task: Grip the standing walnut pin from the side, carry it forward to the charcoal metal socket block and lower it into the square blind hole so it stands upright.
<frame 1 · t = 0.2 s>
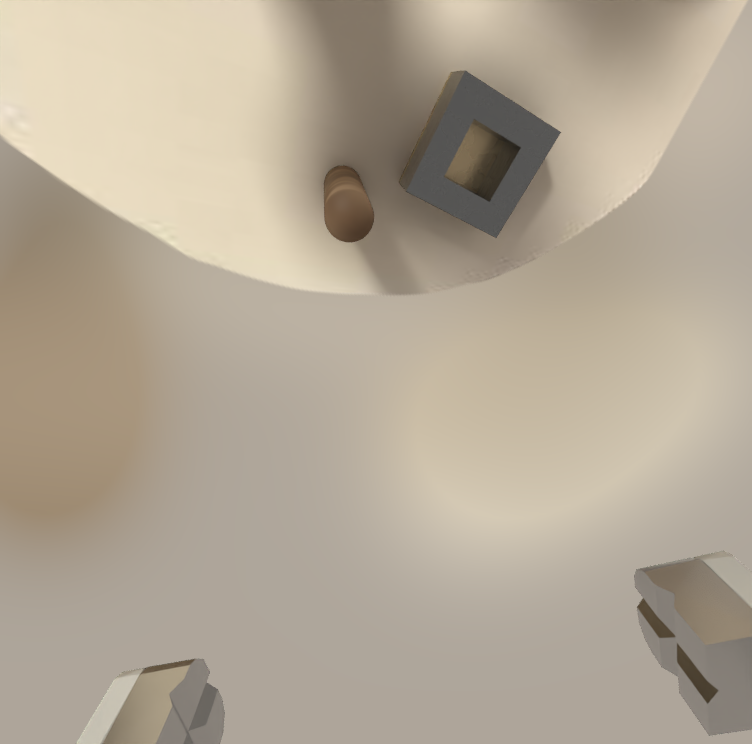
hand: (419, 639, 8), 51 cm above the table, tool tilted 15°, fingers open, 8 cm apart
walnut pin: (342, 186, 52), on the table
socket block: (467, 155, 51), on the table
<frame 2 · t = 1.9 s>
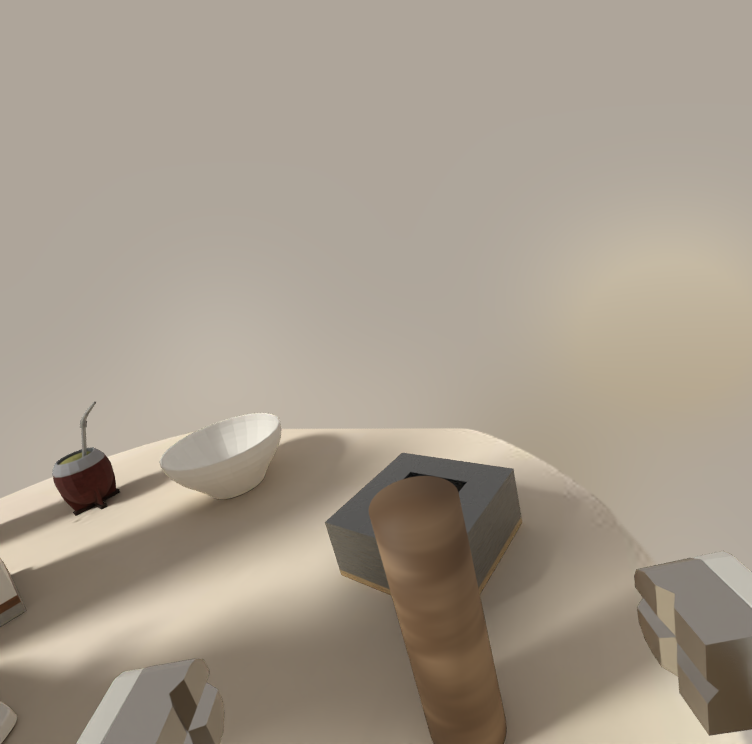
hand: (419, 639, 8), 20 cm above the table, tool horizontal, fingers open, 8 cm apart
walnut pin: (466, 722, 25), on the table
socket block: (432, 548, 40), on the table
bowl: (238, 484, 61), on the table
mate gourd: (102, 502, 66), on the table
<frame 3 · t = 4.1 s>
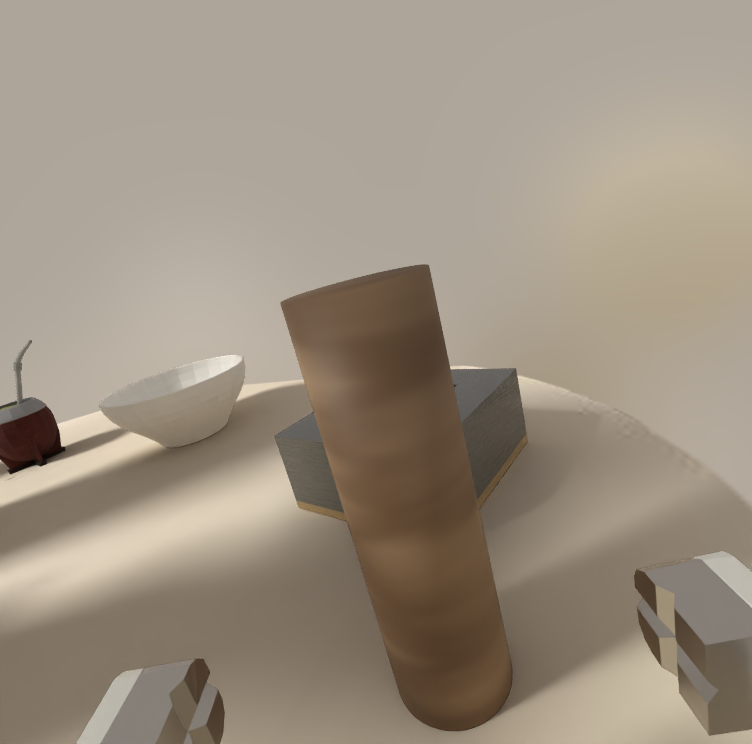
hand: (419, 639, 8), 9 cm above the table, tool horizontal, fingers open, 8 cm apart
walnut pin: (453, 669, 17), on the table
socket block: (415, 473, 31), on the table
bowl: (196, 434, 53), on the table
mate gourd: (43, 461, 57), on the table
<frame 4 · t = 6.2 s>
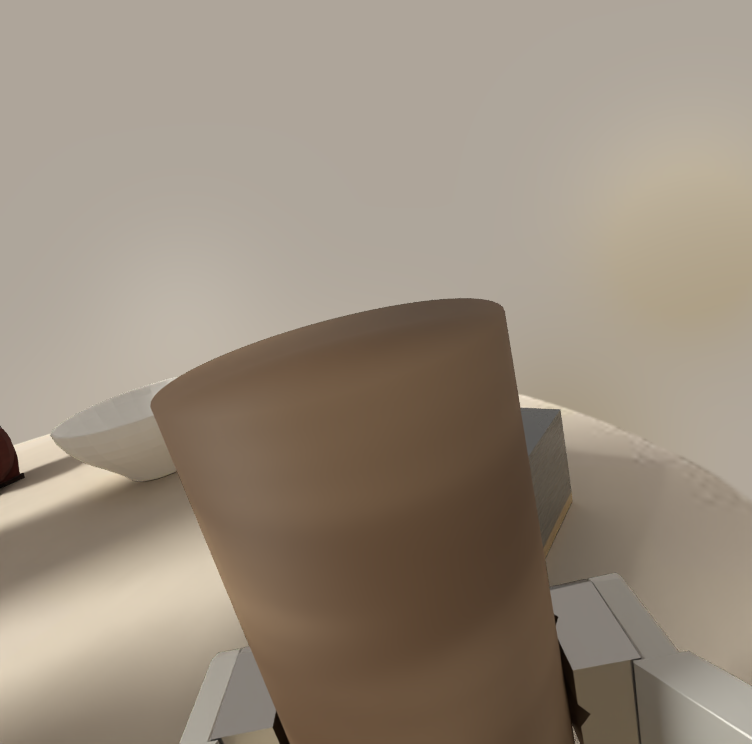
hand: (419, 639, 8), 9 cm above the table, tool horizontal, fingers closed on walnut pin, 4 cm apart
socket block: (427, 543, 24), on the table
bowl: (170, 463, 46), on the table
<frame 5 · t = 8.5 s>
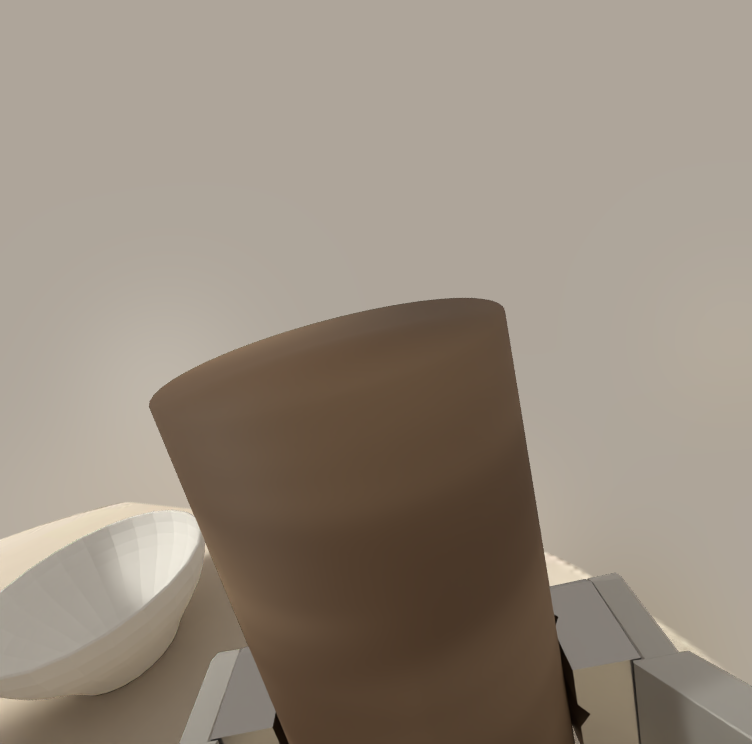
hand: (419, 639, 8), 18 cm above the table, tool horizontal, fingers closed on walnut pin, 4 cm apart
bowl: (130, 650, 35), on the table
when the fingers open (11 cm above the table, at t = 10.8 s): walnut pin stays where it is, resting on socket block.
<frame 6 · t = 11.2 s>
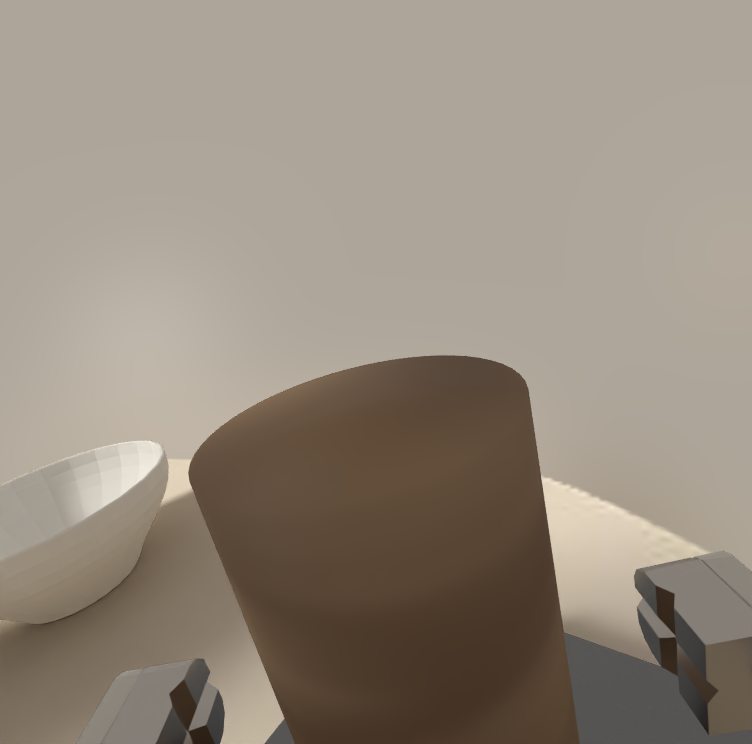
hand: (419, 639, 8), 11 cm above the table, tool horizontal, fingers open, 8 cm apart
bowl: (85, 582, 32), on the table
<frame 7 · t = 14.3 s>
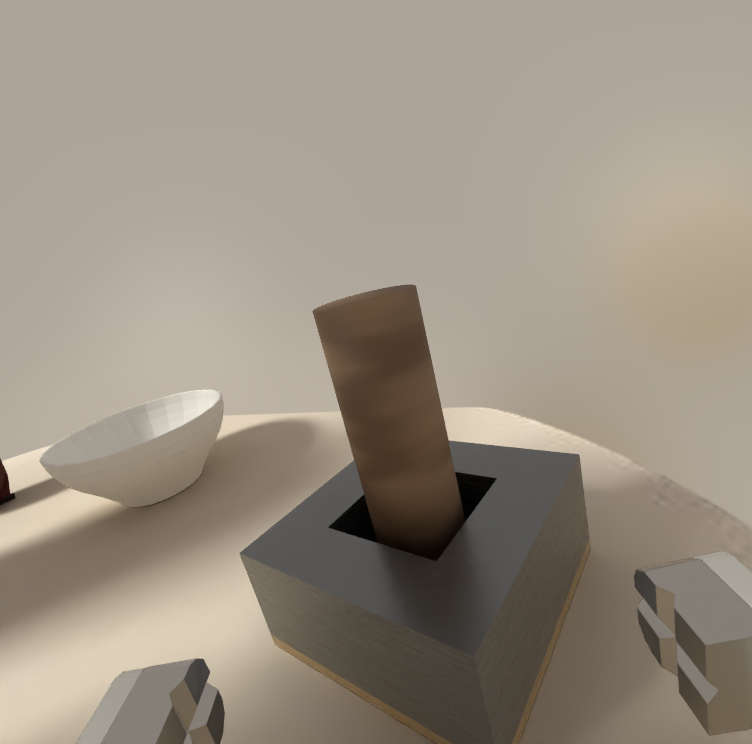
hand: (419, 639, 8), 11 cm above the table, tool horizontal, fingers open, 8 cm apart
walnut pin: (434, 585, 23), point 1 cm above the table, touching socket block
socket block: (436, 595, 23), on the table
bowl: (165, 486, 44), on the table
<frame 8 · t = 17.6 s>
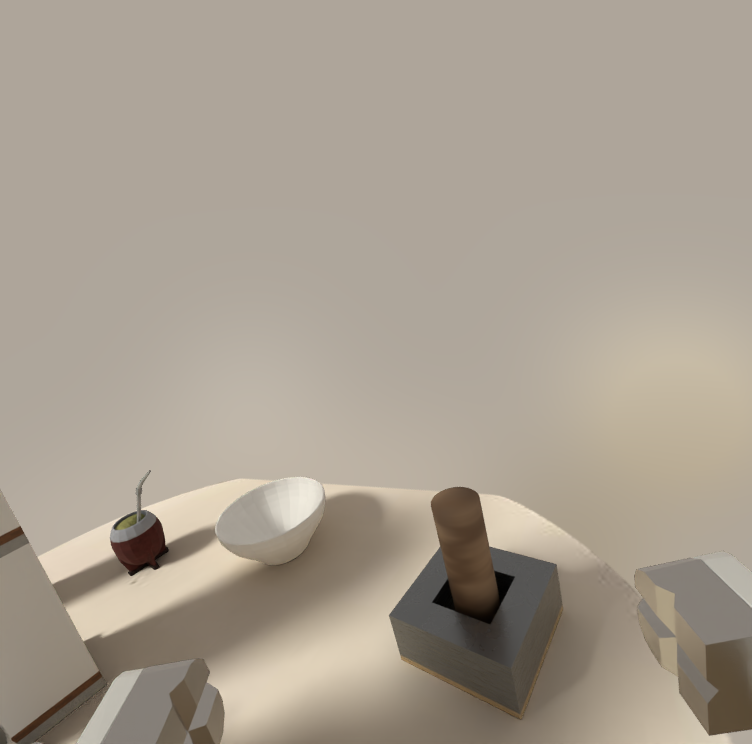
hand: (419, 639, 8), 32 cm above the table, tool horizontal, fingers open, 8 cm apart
walnut pin: (482, 629, 44), point 1 cm above the table, touching socket block
striped white pillar: (38, 704, 49), on the table
socket block: (483, 634, 44), on the table
bowl: (285, 548, 65), on the table
mate gourd: (153, 562, 70), on the table
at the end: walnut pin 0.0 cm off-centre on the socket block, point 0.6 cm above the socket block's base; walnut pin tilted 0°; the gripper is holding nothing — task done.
